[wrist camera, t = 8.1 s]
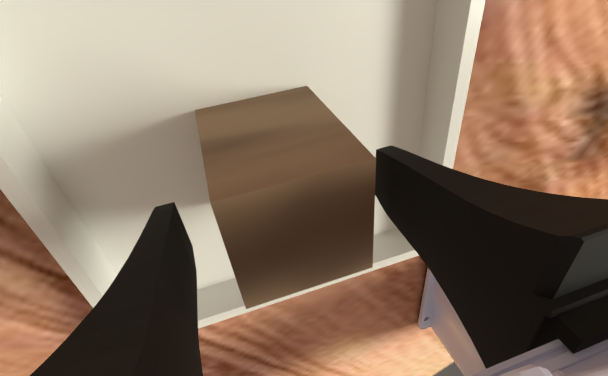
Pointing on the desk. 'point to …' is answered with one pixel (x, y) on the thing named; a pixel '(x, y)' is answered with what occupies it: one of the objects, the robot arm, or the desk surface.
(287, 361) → the desk surface
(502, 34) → the desk surface
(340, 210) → the walnut block
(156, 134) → the tray
